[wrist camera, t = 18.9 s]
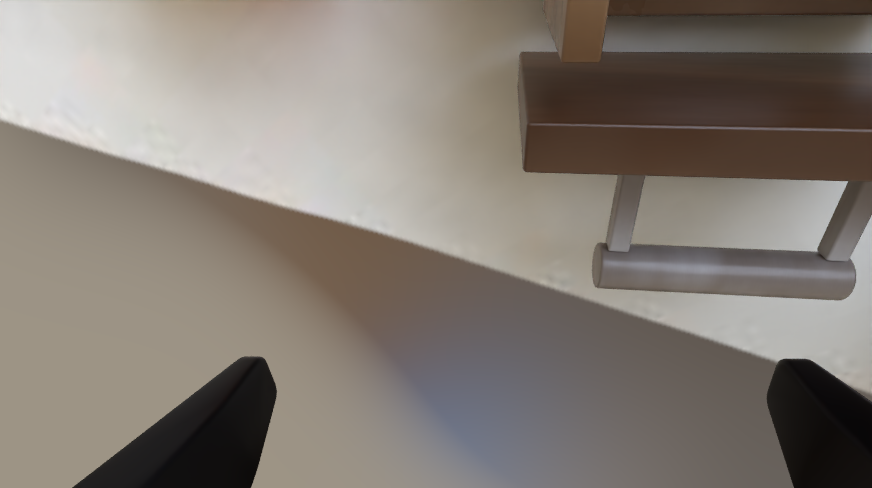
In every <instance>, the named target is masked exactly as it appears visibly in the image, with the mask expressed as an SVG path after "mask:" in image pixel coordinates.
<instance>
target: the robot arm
mask: <svg viewBox="0 0 872 488" xmlns="http://www.w3.org/2000/svg"><path fill="white" fill-rule="evenodd" d="M276 393H277V390H276V385H275V382H274V380H273V377H272V375H271V372H270V370H269V367H268V365H267V363H266V360H265V359H264V358H262V357H242V358H240V359H238V360H237V361H236V362H234V363H233V364H232V365H230V366H229V367H228V368H227V369H225V370H224V371H223V372H221V373H220V374H219V375H217V376H216V377H215V378H213V379H212V380H211V381H210V382H208V383H207V384H206V385H204V386H203V387H202V388H201V389H199V390H198V391H197V392H195V393H194V394H193V395H191V396H190V397H189V398H188V399H186V400H185V401H184V402H183V403H181V404H180V405H179V406H177V407H176V408H175V409H173V410H172V411H171V412H170V413H168V414H167V415H166V416H164V417H163V418H162V419H160V420H159V421H158V422H157V423H155V424H154V425H153V426H151V427H150V428H149V429H148V430H146V431H145V432H144V433H142V434H141V435H140V436H139V437H137V438H136V439H135V440H133V441H132V442H131V443H129V444H128V445H127V446H126V447H124V448H123V449H122V450H120V451H119V452H118V453H117V454H115V455H114V456H113V457H111V458H110V459H109V460H107V461H106V462H105V463H104V464H102V465H101V466H100V467H98V468H97V469H96V470H95V471H94V472H92V473H91V474H89V475H88V476H87V477H86V478H85V479H83V480H82V481H80V482H79V483H78V484H76V485H75V486H74V487H73V488H251V486H252V483H253V480H254V477H255V475H256V471H257V468H258V464H259V461H260V457H261V453H262V449H263V446H264V442H265V438H266V434H267V431H268V427H269V423H270V419H271V416H272V412H273V408H274V404H275V400H276ZM767 404H768V408H769V411H770V415H771V417H772V421H773V424H774V427H775V430H776V433H777V436H778V439H779V442H780V446H781V449H782V452H783V455H784V458H785V461H786V464H787V467H788V470H789V473H790V477H791V480H792V483H793V486H794V488H872V402H871V401H870V400H868V399H867V398H865V397H864V396H863V395H861V394H860V393H858V392H857V391H855V390H854V389H852V388H851V387H849V386H848V385H847V384H845V383H844V382H842V381H841V380H839V379H838V378H836V377H835V376H834V375H832V374H831V373H829V372H828V371H826V370H825V369H823V368H822V367H820V366H819V365H818V364H816V363H815V362H813V361H811V360H808V359H782V360H780V361H779V362H778V363H777V365H776V368H775V371H774V374H773V377H772V380H771V383H770V386H769V389H768V393H767Z"/></svg>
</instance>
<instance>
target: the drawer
mask: <svg viewBox="0 0 872 488" xmlns="http://www.w3.org/2000/svg"><path fill="white" fill-rule="evenodd" d="M543 12H544V15H545V18H546V21H547V24H548V26H549V29H550V32H551V35H552V37H553V40H554V43H555V46H556V48H557V51H558V52H521V53H520V56H519V71H518V101H519V116H520V131H521V146H522V161H523V170H524V171H525V172H538V173H574V174H610V175H618V178H617V183H616V188H615V194H614V199H613V204H612V210H611V215H610V220H609V226H608V231H607V236H606V243H598V244H597V245H596V247H595V249H594V253H593V261H592V276H593V282H594V285H595V287H597V288H605V289H625V290H645V291H664V292H684V293H704V294H723V295H743V296H762V297H782V298H802V299H821V300H843V299H845V298H847V297H848V296H849V295H850V294H851V293H852V291H853V289H854V286H855V283H856V270H855V266H854V264H853V262H852V260H851V259H850V256H851V255H852V253H853V251H854V249H855V247H856V245H857V243H858V241H859V239H860V237H861V235H862V233H863V231H864V229H865V227H866V225H867V223H868V221H869V219H870V217H871V215H872V53H746V52H602V48H603V41H604V34H605V27H606V21H607V16H740V15H872V0H543ZM645 175H646V176H682V177H718V178H754V179H790V180H826V181H848V183H847V185H846V187H845V190H844V192H843V194H842V196H841V198H840V201H839V203H838V205H837V207H836V209H835V211H834V214H833V216H832V218H831V220H830V222H829V224H828V227H827V229H826V231H825V233H824V235H823V238H822V240H821V242H820V244H819V246H818V252H810V251H786V250H762V249H738V248H714V247H690V246H666V245H642V244H630V243H631V239H632V234H633V229H634V225H635V220H636V216H637V211H638V207H639V202H640V198H641V193H642V189H643V184H644V179H645Z"/></svg>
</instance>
